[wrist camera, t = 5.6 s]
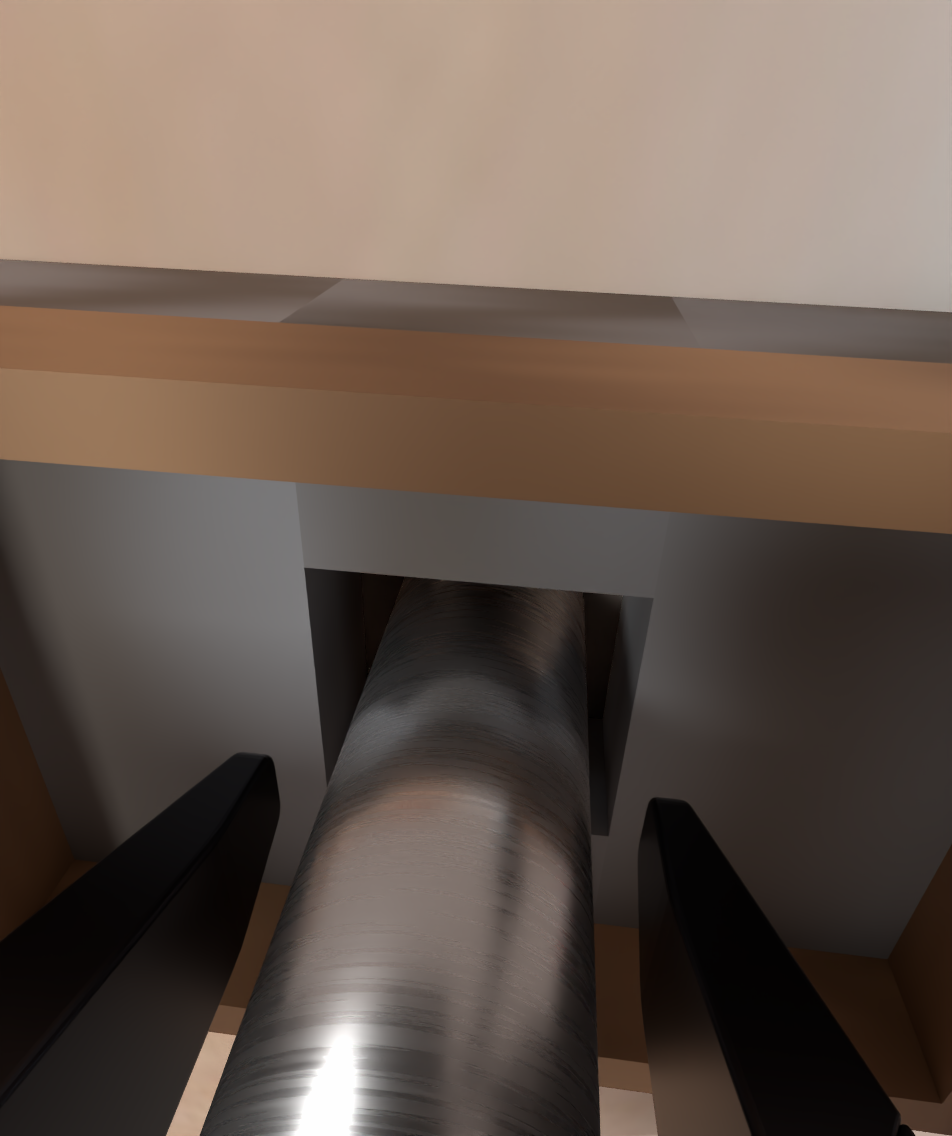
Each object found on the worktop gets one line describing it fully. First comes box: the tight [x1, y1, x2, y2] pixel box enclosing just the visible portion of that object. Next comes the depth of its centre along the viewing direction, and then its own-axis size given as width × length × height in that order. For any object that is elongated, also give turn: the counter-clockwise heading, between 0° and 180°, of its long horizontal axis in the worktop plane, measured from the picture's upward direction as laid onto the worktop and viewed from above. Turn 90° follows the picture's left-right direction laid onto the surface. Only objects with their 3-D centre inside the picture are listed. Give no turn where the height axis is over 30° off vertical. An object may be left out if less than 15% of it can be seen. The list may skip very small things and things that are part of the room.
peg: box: [200, 576, 600, 1136], centre depth 9 cm, size 3×3×8 cm
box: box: [0, 259, 952, 1135], centre depth 10 cm, size 15×10×4 cm, turn 88°
